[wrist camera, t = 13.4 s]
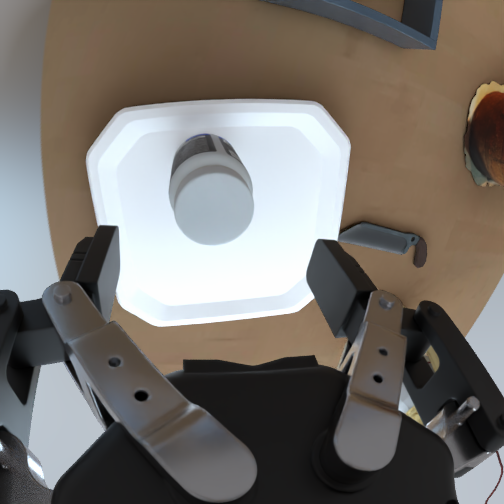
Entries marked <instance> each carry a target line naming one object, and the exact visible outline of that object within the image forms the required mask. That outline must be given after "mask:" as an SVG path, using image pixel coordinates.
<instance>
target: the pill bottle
mask: <svg viewBox="0 0 504 504" xmlns="http://www.w3.org/2000/svg"><path fill="white" fill-rule="evenodd" d="M168 192H169V201H170V204H171V207H172V209H173V211H174V215H175V220H176V223H177V225H178V227H179V229H180V230H181V231H182V233H183V234H184V235H185V236H186V237H188V238H189V239H190V240H192V241H194V242H196V243H199V244H202V245H208V246H217V245H222V244H226V243H229V242H231V241H233V240H235V239H237V238H238V237H239V236H241V235H242V234H243V233H244V232H245V230H246V229H247V228H248V226H249V225H250V223H251V221H252V218H253V214H254V200H253V196H252V194H253V187H252V181H251V177H250V175H249V173H248V171H247V169H246V168H245V166H244V165H243V163H242V161H241V160H240V158H239V156H238V155H237V153H236V151H235V150H234V148H233V147H232V145H231V144H230V143H229V142H228V141H227V140H225V139H224V138H222V137H220V136H217V135H214V134H208V133H203V134H197V135H194V136H192V137H190V138H188V139H187V140H185V141H184V142H183V143H182V144H181V145H180V146H179V148H178V149H177V151H176V153H175V155H174V158H173V163H172V170H171V177H170V184H169V191H168Z"/></svg>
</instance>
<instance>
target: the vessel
mask: <svg viewBox="0 0 504 504" xmlns="http://www.w3.org/2000/svg"><path fill="white" fill-rule="evenodd" d="M469 111H470V114H469V117H468V125H469V126H468V127H467V129H468V132H467V133H466V134H465V136H464V140H465V150H464V154H467V155H466V163H467V165H466V168H467V169H468V170H470V171H471V172H472V175H473V177H474V180H475V182H476V183H477V185H480V186H484V187H485V185H486V184H487V182H488V184H489V186H490V187H491V186H492V185H498V186H500V185H501V186H503V187H504V84H503V85H502V86H501V85H499V84H498V83H496V82H494V81H492V82H491V83H490V84H489V85H488V84H482V85H481V87H480V88H478V89H477V93H476V96H475V97H474V98H473V100H472V103H471V106H470V109H469Z"/></svg>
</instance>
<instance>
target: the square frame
mask: <svg viewBox="0 0 504 504" xmlns="http://www.w3.org/2000/svg"><path fill="white" fill-rule="evenodd" d="M260 1H265V2H270V3H274V4H278V5H283V6H287V7H291V8H294V9H298V10H302V11H305V12H309V13H312V14H316V15H319V16H322V17H325V18H329V19H332V20H335V21H338V22H340V23H343V24H346V25H349V26H352V27H354V28H357V29H360V30H362V31H365V32H367V33H370V34H372V35H374V36H377V37H379V38H382V39H384V40H386V41H388V42H391V43H393V44H395V45H397V46H399V47H401V48H405V49H428V50H435V49H436V44H437V38H438V32H439V25H440V19H441V11H442V3H443V0H405V3H404V10H403V16H402V22H399V21H397V20H395V19H393V18H391V17H388V16H386V15H384V14H382V13H380V12H377V11H375V10H373V9H371V8H368V7H366V6H363V5H361V4H359V3H356V2H354V1H351V0H260Z"/></svg>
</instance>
